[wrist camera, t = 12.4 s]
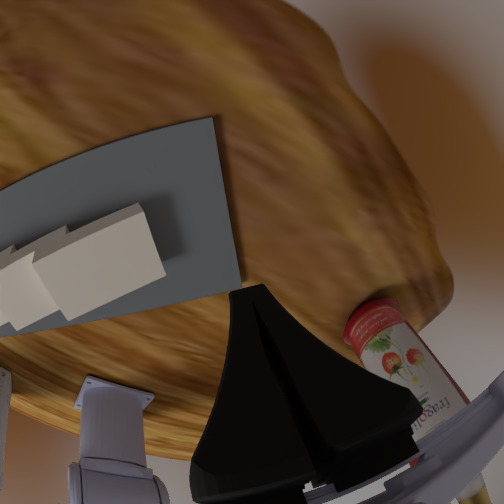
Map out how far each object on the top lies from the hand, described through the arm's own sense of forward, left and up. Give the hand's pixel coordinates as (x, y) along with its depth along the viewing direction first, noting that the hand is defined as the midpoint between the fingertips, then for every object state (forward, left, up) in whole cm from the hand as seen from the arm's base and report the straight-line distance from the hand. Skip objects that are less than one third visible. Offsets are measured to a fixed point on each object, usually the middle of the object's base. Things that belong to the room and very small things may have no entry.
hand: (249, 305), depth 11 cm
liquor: (-1, -19, -8) cm, 21 cm away
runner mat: (-9, +10, -8) cm, 16 cm away
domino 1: (-7, +7, -7) cm, 12 cm away
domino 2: (-3, +3, -7) cm, 8 cm away
